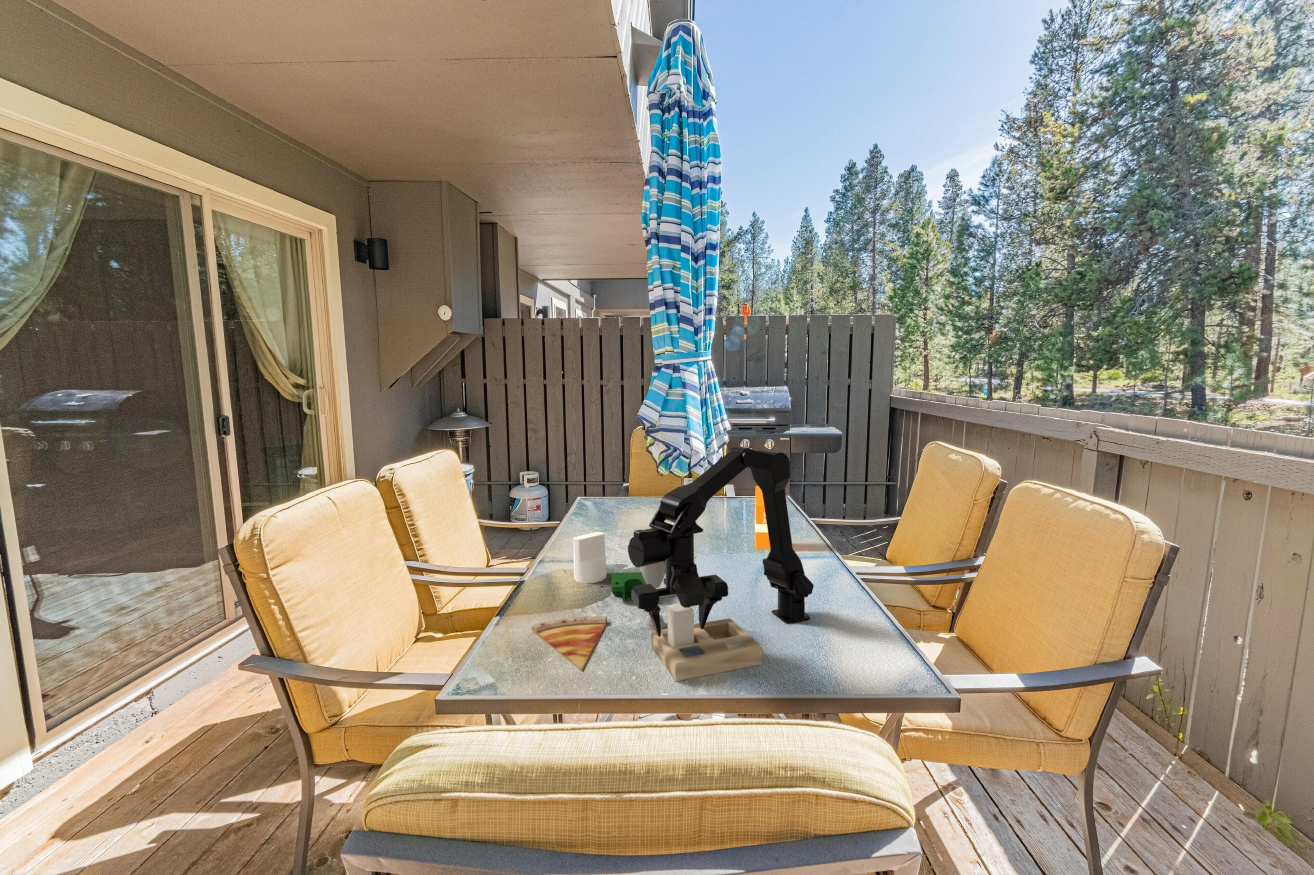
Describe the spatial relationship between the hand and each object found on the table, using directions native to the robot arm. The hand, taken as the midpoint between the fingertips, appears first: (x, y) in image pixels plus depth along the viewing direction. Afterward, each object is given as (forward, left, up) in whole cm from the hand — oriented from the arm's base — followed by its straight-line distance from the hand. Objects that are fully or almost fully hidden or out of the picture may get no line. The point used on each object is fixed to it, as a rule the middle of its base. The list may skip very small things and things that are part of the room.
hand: (680, 632), depth 115 cm
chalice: (-15, -1, -5) cm, 16 cm away
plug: (0, 0, -5) cm, 5 cm away
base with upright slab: (-50, -8, -5) cm, 51 cm away
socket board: (+2, +4, -5) cm, 7 cm away
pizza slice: (-14, -22, -5) cm, 27 cm away
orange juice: (-56, +52, -5) cm, 77 cm away
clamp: (-32, 0, -5) cm, 32 cm away
